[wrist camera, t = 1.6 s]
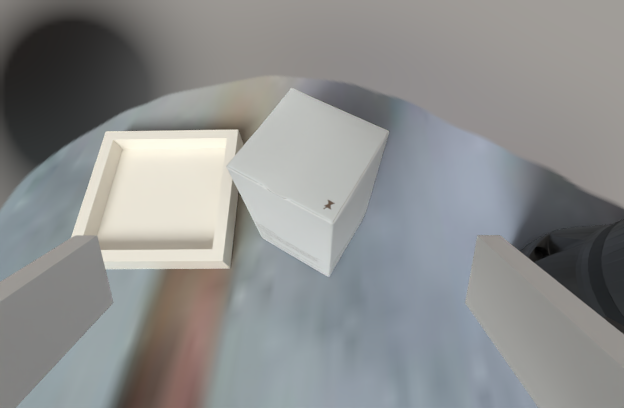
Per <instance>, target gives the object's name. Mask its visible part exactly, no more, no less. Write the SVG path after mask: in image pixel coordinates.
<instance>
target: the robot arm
mask: <svg viewBox="0 0 624 408" xmlns="http://www.w3.org/2000/svg"><path fill="white" fill-rule="evenodd" d="M113 303H114V302H113V298H112V294H111V290H110V286H109V282H108V278H107V273H106V269H105V265H104V261H103V257H102V253H101V249H100V245H99V241H98V237H97V235H75V236H73V237H72V238H70V239H69V240H67V241H65V242H64V243H62V244H61V245H59V246H57V247H56V248H54V249H53V250H51V251H49V252H48V253H46V254H45V255H43V256H41V257H40V258H38V259H36V260H35V261H33V262H32V263H30V264H28V265H27V266H25V267H24V268H22V269H20V270H19V271H17V272H16V273H14V274H12V275H11V276H9V277H7V278H6V279H4V280H3V281H1V282H0V408H16V407H17V406H18V405H19V403H20V402H21V401H22V400H23V399H24V398H25V397H26V396H27V395H28V394H29V393H30V392H31V391H32V389H33V388H34V387H35V386H36V385H37V384H38V383H39V382H40V381H41V380H42V379H43V378H44V377H45V376H46V374H47V373H48V372H49V371H50V370H51V369H52V368H53V367H54V366H55V365H56V364H57V363H58V362H59V361H60V359H61V358H62V357H63V356H64V355H65V354H66V353H67V352H68V351H69V350H70V349H71V348H72V347H73V345H74V344H75V343H76V342H77V341H78V340H79V339H80V338H81V337H82V336H83V335H84V334H85V333H86V332H87V330H88V329H89V328H90V327H91V326H92V325H93V324H94V323H95V322H96V321H97V320H98V319H99V318H100V316H101V315H102V314H103V313H104V312H105V311H106V310H107V309H108V308H109V307H110V306H111V305H112V304H113ZM465 303H466V305H467V306H468V308H469V309H470V310H471V312H472V313H473V315H474V316H475V318H476V319H477V320H478V322H479V323H480V325H481V326H482V328H483V329H484V330H485V332H486V333H487V335H488V336H489V338H490V339H491V340H492V342H493V343H494V345H495V346H496V348H497V349H498V350H499V352H500V353H501V355H502V356H503V358H504V359H505V360H506V362H507V363H508V365H509V366H510V368H511V369H512V370H513V372H514V373H515V375H516V376H517V378H518V379H519V381H520V382H521V383H522V385H523V386H524V388H525V389H526V391H527V392H528V393H529V395H530V396H531V398H532V399H533V401H534V402H535V403H536V405H537V406H538V408H624V219H623V220H621V221H619V222H617V223H614V224H607V225H595V226H582V227H570V228H564V229H560V230H556V231H553V232H550V233H548V234H546V235H544V236H542V237H540V238H538V239H536V240H535V241H533V242H531V243H530V244H528V245H527V246H526V247H525V248H523V250H522V251H521V252H520V251H519V250H518V249H516V248H515V247H514V246H513V245H511V244H510V243H509V242H508V241H506V240H505V239H504V238H503V237H501V236H500V235H477V241H476V246H475V252H474V257H473V263H472V268H471V274H470V279H469V285H468V290H467V296H466V301H465Z"/></svg>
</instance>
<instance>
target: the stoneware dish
mask: <svg viewBox="0 0 624 408" xmlns="http://www.w3.org/2000/svg"><path fill="white" fill-rule="evenodd" d="M243 145H244V144H243V141H242V139H241V136H240V133H239V130H173V131H107V132H106V133H105V136H104V139H103V142H102V145H101V148H100V151H99V154H98V157H97V160H96V163H95V166H94V169H93V172H92V176H91V179H90V182H89V185H88V188H87V191H86V194H85V197H84V200H83V203H82V206H81V209H80V212H79V215H78V218H77V221H76V224H75V227H74V230H73V234H72V237H73V236H75V235H97V237H98V241H99V245H100V249H101V253H102V257H103V261H104V265H105V269H213V268H230V267H231V257H232V248H233V238H234V229H235V220H236V210H237V201H238V192H239V191H238V189H237V187H236V185H235V183H234V181H233V179H232V177H231V175H230V173H229V171H228V169H227V167H226V166H227V165H228V163H229V162H230V161H231V160H232V159H233V157H234V156H235V155H236V154H237V153H238V151H239V150H240V149H241V148H242V147H243ZM72 237H71V238H72Z"/></svg>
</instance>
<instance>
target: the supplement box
mask: <svg viewBox="0 0 624 408" xmlns="http://www.w3.org/2000/svg"><path fill="white" fill-rule="evenodd" d="M388 135H389V131H388V130H386V129H383V128H381V127H379V126H376V125H374V124H372V123H370V122H367V121H365V120H363V119H361V118H358V117H356V116H354V115H352V114H349V113H347V112H345V111H343V110H340V109H338V108H336V107H333V106H331V105H329V104H327V103H324V102H322V101H320V100H318V99H315V98H313V97H311V96H309V95H306V94H304V93H302V92H300V91H297V90H295V89H293V88H291V89H290V90H289V92H288V93H287V94H286V95H285V96H284V97H283V99H282V100H281V101H280V102H279V103H278V105H277V106H276V107H275V108H274V110H273V111H272V112H271V114H270V115H269V116H268V117H267V118H266V119H265V121H264V122H263V123H262V124H261V126H260V127H259V128H258V129H257V130H256V131H255V133H254V134H253V135H252V136H251V137H250V138H249V140H248V141H247V142H246V143H245V144H244V145H243V147H242V148H241V149H240V150H239V151H238V153H237V154H236V155H235V156H234V157H233V159H232V160H231V161H230V162H229V163H228V165H227V166H226V167H227V169H228V171H229V173H230V175H231V177H232V179H233V181H234V183H235V185H236V187H237V189H238V191H239V193H240V195H241V197H242V199H243V201H244V203H245V205H246V207H247V209H248V211H249V213H250V215H251V217H252V219H253V221H254V223H255V225H256V227H257V228H258V230H259V233H260V235H261V236H262V238H263V239H265V240H267V241H268V242H270V243H272V244H273V245H275V246H277V247H278V248H280V249H282V250H283V251H285V252H287V253H288V254H290V255H292V256H293V257H295V258H297V259H299V260H300V261H302V262H304V263H305V264H307V265H309V266H310V267H312V268H314V269H315V270H317V271H319V272H321V273H322V274H324V275H326V276H328V277H329V276H330V275H331V273H332V271H333V270H334V268H335V266H336V265H337V263H338V261H339V259H340V258H341V256H342V254H343V252H344V251H345V249H346V247H347V246H348V244H349V242H350V241H351V239H352V237H353V235H354V234H355V232H356V230H357V229H358V227H359V225H360V223H361V222H362V220H363V218H364V216H365V214H366V211H367V207H368V204H369V200H370V197H371V193H372V190H373V186H374V183H375V179H376V176H377V172H378V169H379V165H380V162H381V159H382V155H383V152H384V149H385V145H386V142H387V139H388Z"/></svg>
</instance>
